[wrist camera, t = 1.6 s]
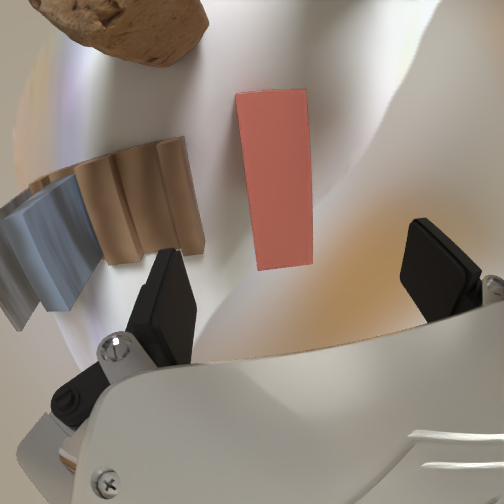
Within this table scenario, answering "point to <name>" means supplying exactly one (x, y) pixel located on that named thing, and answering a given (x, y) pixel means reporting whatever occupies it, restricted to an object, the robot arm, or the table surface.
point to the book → (278, 175)
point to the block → (130, 26)
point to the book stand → (94, 224)
